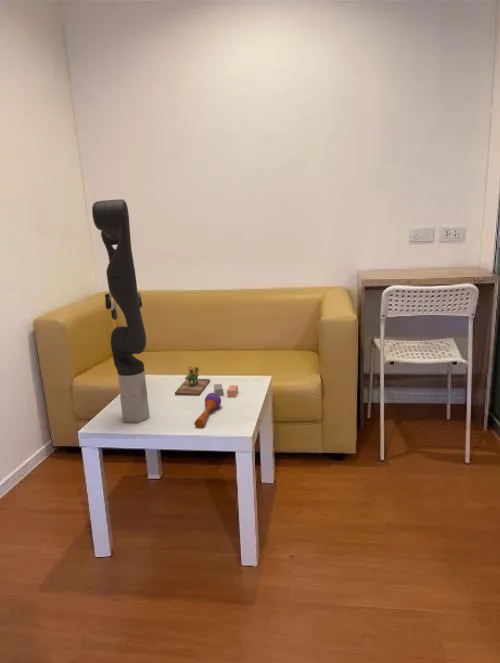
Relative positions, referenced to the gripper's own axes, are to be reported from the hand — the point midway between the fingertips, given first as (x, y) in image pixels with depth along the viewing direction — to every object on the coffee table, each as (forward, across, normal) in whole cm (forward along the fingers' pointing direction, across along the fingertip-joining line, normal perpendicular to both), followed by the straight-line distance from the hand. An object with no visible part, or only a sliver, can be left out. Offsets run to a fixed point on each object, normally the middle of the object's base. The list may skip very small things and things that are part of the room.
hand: (125, 319), depth 205 cm
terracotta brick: (+30, +42, -2) cm, 52 cm away
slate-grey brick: (+30, +36, -1) cm, 47 cm away
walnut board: (+30, +24, +4) cm, 39 cm away
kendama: (+30, +38, -23) cm, 54 cm away
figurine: (+29, +24, +4) cm, 38 cm away
